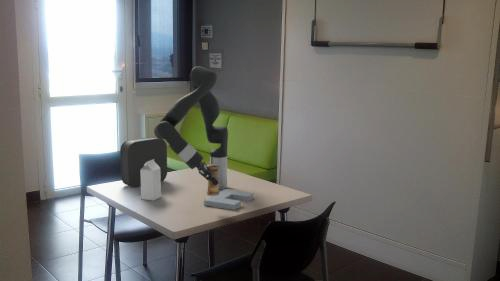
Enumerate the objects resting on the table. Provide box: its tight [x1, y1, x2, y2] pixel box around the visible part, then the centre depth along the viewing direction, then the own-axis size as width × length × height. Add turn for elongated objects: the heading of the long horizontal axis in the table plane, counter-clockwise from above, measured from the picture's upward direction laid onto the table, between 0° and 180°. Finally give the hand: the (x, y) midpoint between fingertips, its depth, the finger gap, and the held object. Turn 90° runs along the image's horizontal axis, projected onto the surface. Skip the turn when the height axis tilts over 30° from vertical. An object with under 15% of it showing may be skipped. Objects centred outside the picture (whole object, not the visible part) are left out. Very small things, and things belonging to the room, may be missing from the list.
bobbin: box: [206, 164, 220, 197], centre depth 215 cm, size 6×6×13 cm
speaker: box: [119, 136, 168, 188], centre depth 262 cm, size 25×9×25 cm, turn 136°
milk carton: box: [140, 159, 162, 201], centre depth 236 cm, size 7×7×19 cm
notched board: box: [203, 188, 255, 211], centre depth 233 cm, size 16×22×2 cm
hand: (217, 182), depth 215 cm, fingers closed on bobbin, 4 cm apart
